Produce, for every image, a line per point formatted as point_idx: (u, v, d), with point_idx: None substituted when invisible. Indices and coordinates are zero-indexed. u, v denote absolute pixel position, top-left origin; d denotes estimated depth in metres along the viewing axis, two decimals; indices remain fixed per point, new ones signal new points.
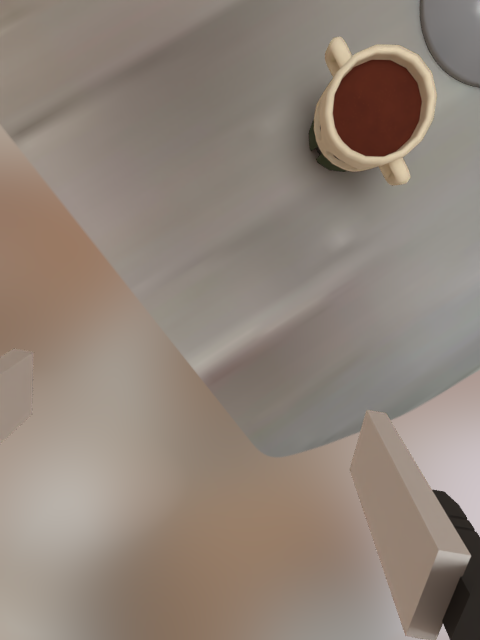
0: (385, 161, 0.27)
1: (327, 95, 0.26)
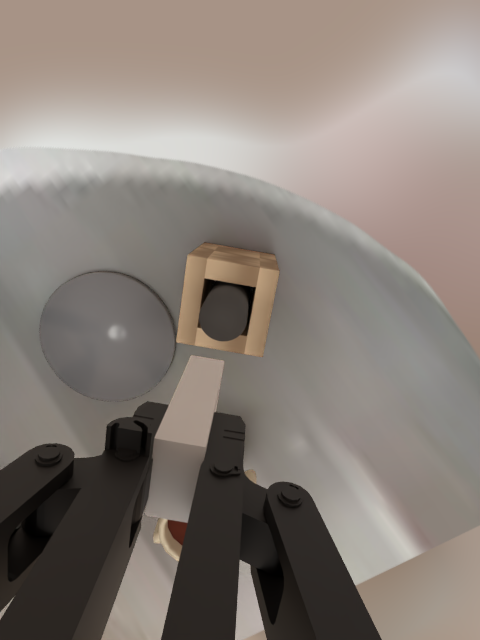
0: None
1: None
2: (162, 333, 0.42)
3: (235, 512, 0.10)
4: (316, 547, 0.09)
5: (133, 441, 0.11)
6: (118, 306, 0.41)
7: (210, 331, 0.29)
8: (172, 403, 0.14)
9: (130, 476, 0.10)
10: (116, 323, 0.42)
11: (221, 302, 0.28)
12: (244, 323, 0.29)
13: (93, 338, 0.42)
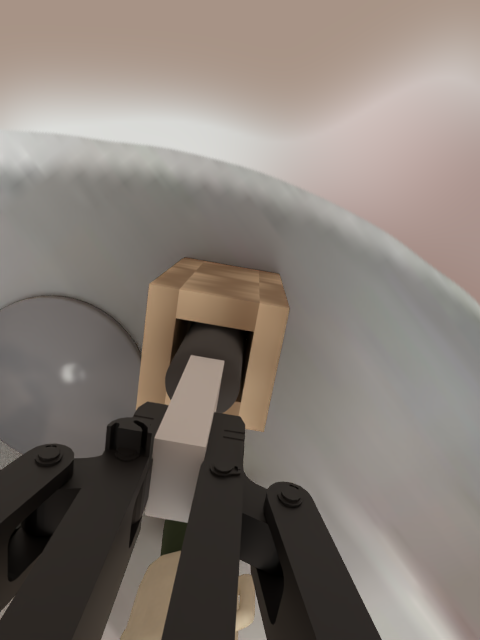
0: None
1: None
2: (129, 378, 0.31)
3: (235, 512, 0.10)
4: (316, 547, 0.09)
5: (133, 441, 0.11)
6: (69, 343, 0.31)
7: None
8: (172, 403, 0.14)
9: (130, 476, 0.10)
10: (67, 365, 0.31)
11: None
12: (235, 391, 0.18)
13: (37, 384, 0.32)
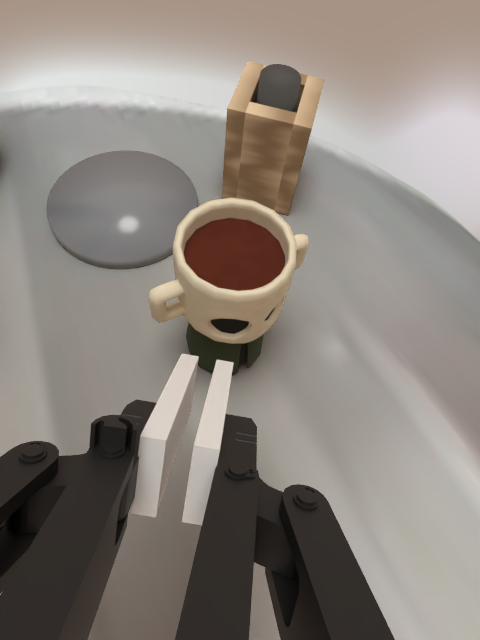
0: (294, 242, 0.23)
1: (217, 295, 0.21)
2: (187, 202, 0.39)
3: (249, 515, 0.10)
4: (332, 551, 0.09)
5: (118, 438, 0.11)
6: (147, 176, 0.41)
7: (269, 82, 0.33)
8: (160, 401, 0.14)
9: (116, 473, 0.10)
10: (140, 188, 0.40)
11: (280, 68, 0.34)
12: (299, 81, 0.33)
13: (110, 198, 0.39)
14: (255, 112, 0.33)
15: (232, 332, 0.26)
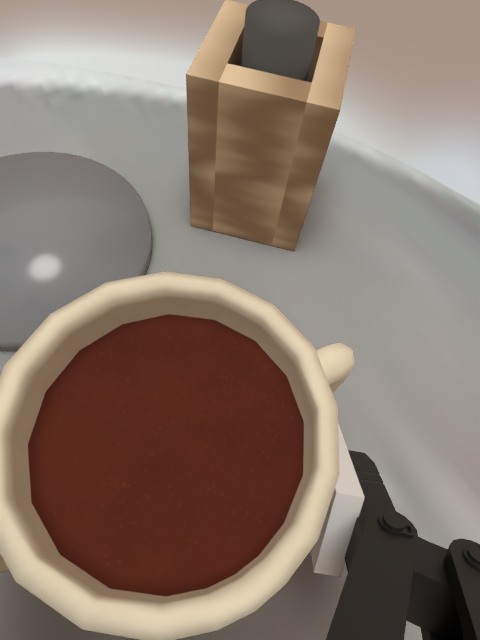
0: (332, 403, 0.08)
1: (91, 629, 0.06)
2: (133, 234, 0.25)
3: (403, 578, 0.09)
4: None
5: None
6: (72, 192, 0.26)
7: (262, 25, 0.18)
8: None
9: None
10: (59, 213, 0.25)
11: (281, 3, 0.19)
12: (315, 25, 0.18)
13: (7, 228, 0.24)
14: (237, 81, 0.18)
15: None
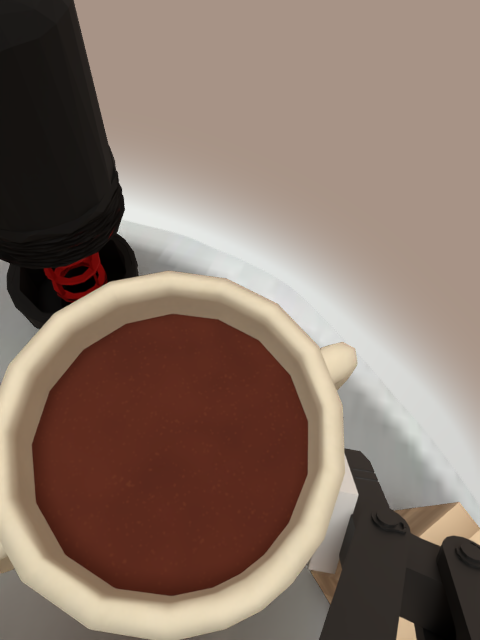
0: (336, 402, 0.08)
1: (98, 629, 0.06)
2: None
3: (396, 574, 0.09)
4: None
5: None
6: None
7: None
8: None
9: None
10: None
11: None
12: None
13: None
14: (397, 632, 0.19)
15: None
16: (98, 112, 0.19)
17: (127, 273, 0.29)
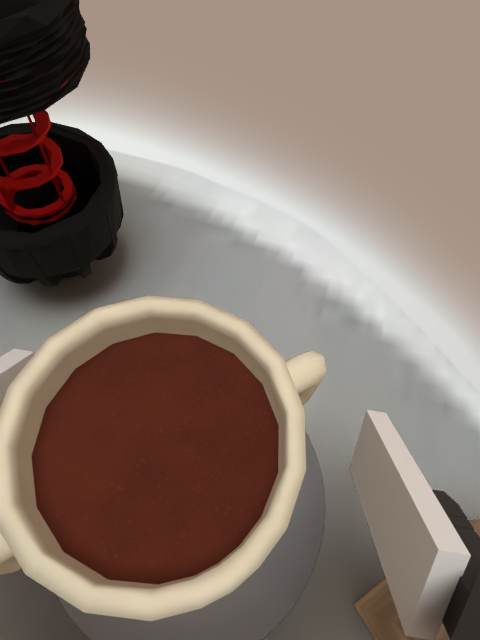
0: (299, 408, 0.10)
1: (92, 612, 0.08)
2: (279, 584, 0.19)
3: None
4: None
5: None
6: None
7: None
8: None
9: None
10: None
11: None
12: None
13: None
14: None
15: None
16: None
17: (102, 184, 0.21)
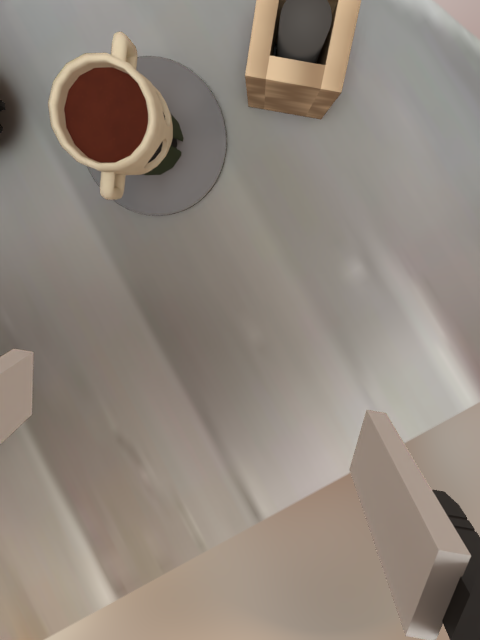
0: (125, 63, 0.26)
1: (135, 159, 0.27)
2: (214, 130, 0.38)
3: None
4: None
5: None
6: (166, 97, 0.38)
7: (291, 36, 0.27)
8: None
9: None
10: None
11: None
12: (328, 24, 0.27)
13: None
14: (277, 76, 0.29)
15: (159, 152, 0.31)
16: None
17: None
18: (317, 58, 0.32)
